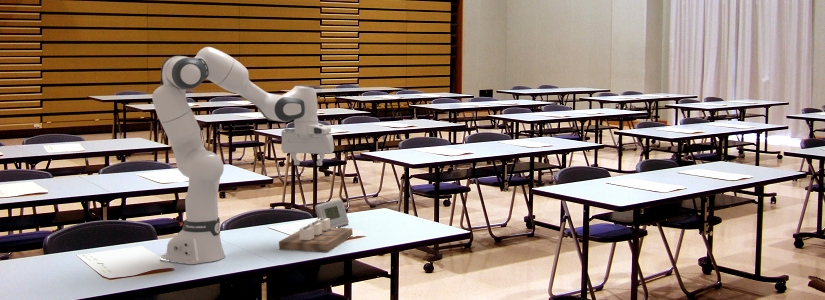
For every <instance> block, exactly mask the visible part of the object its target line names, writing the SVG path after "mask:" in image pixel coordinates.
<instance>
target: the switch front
mask: <svg viewBox="0 0 825 300" xmlns="http://www.w3.org/2000/svg"><path fill="white" fill-rule="evenodd" d="M298 231H299V232H300V240H311V239H313V238H314V227H310V226H309V225H308V224H307V225H306V226H303V227H301V228H299V230H298Z"/></svg>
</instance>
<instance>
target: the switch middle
mask: <svg viewBox="0 0 825 300" xmlns="http://www.w3.org/2000/svg"><path fill="white" fill-rule="evenodd" d="M308 225H309V226H310V227H314V235H320V234H322V223H318V221H316V220H315V221H312V222H310V223H309V224H308V223H307V226H308Z"/></svg>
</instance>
